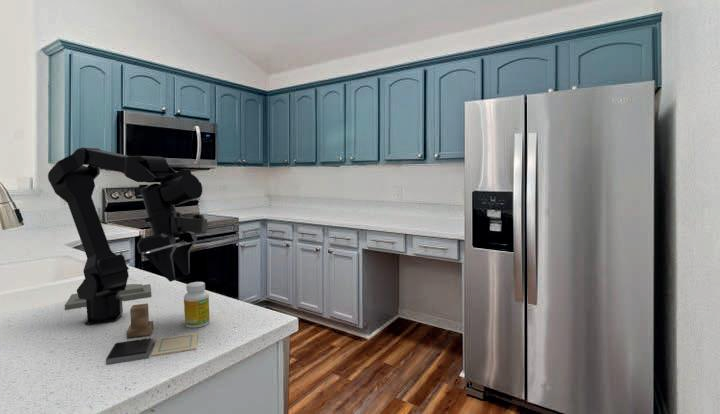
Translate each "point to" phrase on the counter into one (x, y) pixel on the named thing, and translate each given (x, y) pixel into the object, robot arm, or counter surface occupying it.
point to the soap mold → (128, 294)
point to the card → (175, 344)
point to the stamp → (139, 322)
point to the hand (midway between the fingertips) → (180, 277)
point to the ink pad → (130, 351)
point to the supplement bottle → (196, 305)
